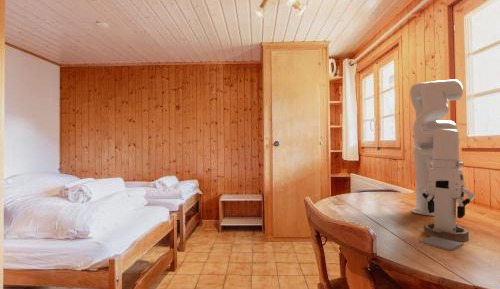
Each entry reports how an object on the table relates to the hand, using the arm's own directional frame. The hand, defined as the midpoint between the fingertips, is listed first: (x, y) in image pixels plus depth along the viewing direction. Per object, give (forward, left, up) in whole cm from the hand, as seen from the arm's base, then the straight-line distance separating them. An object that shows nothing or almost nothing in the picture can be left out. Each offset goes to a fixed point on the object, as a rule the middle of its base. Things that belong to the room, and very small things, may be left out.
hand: (445, 214), depth 100 cm
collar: (0, 0, -7) cm, 7 cm away
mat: (+11, +3, -7) cm, 13 cm away
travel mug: (0, 0, -7) cm, 7 cm away
